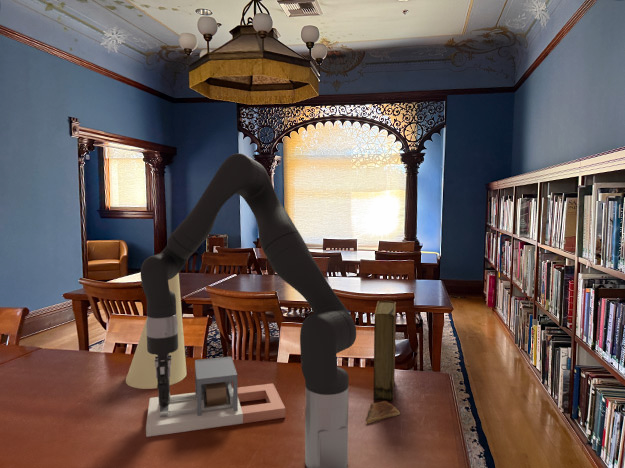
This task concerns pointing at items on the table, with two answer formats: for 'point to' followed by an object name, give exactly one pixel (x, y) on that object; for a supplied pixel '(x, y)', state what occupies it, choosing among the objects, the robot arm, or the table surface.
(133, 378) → the cone light
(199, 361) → the tunnel
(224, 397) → the block
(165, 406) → the sled
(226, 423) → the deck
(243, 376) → the table surface
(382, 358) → the book
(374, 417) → the shard
